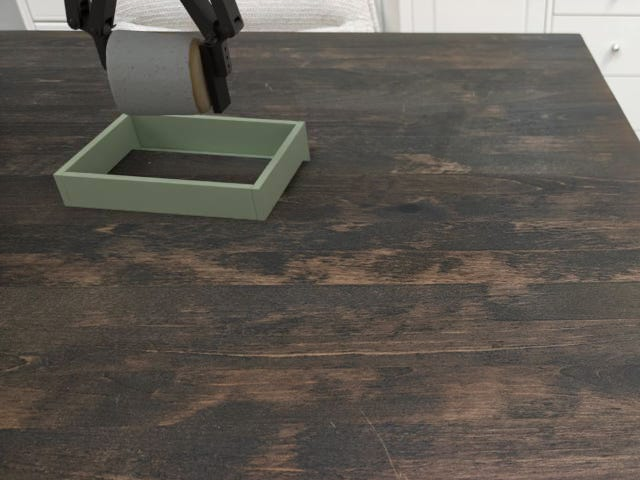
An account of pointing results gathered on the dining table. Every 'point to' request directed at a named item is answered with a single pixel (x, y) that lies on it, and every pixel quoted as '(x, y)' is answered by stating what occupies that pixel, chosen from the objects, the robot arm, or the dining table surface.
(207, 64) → the robot arm
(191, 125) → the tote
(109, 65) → the ceramic mug
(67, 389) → the dining table surface
